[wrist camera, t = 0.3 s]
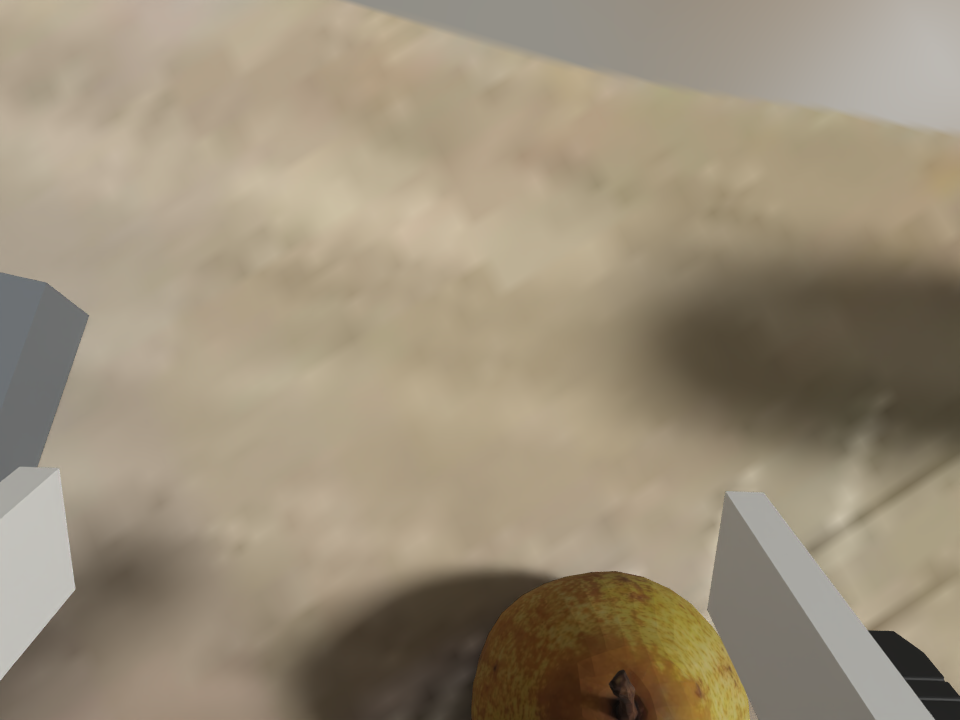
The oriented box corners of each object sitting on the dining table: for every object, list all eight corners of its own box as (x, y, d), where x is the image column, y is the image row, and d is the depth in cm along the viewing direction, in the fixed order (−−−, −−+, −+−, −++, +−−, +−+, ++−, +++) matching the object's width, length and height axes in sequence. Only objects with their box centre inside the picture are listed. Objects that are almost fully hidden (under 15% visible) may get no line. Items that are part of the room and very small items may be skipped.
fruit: (706, 796, 30) (910, 955, 18) (468, 822, 29) (523, 1011, 17) (679, 561, 32) (847, 569, 20) (455, 577, 31) (496, 595, 19)
